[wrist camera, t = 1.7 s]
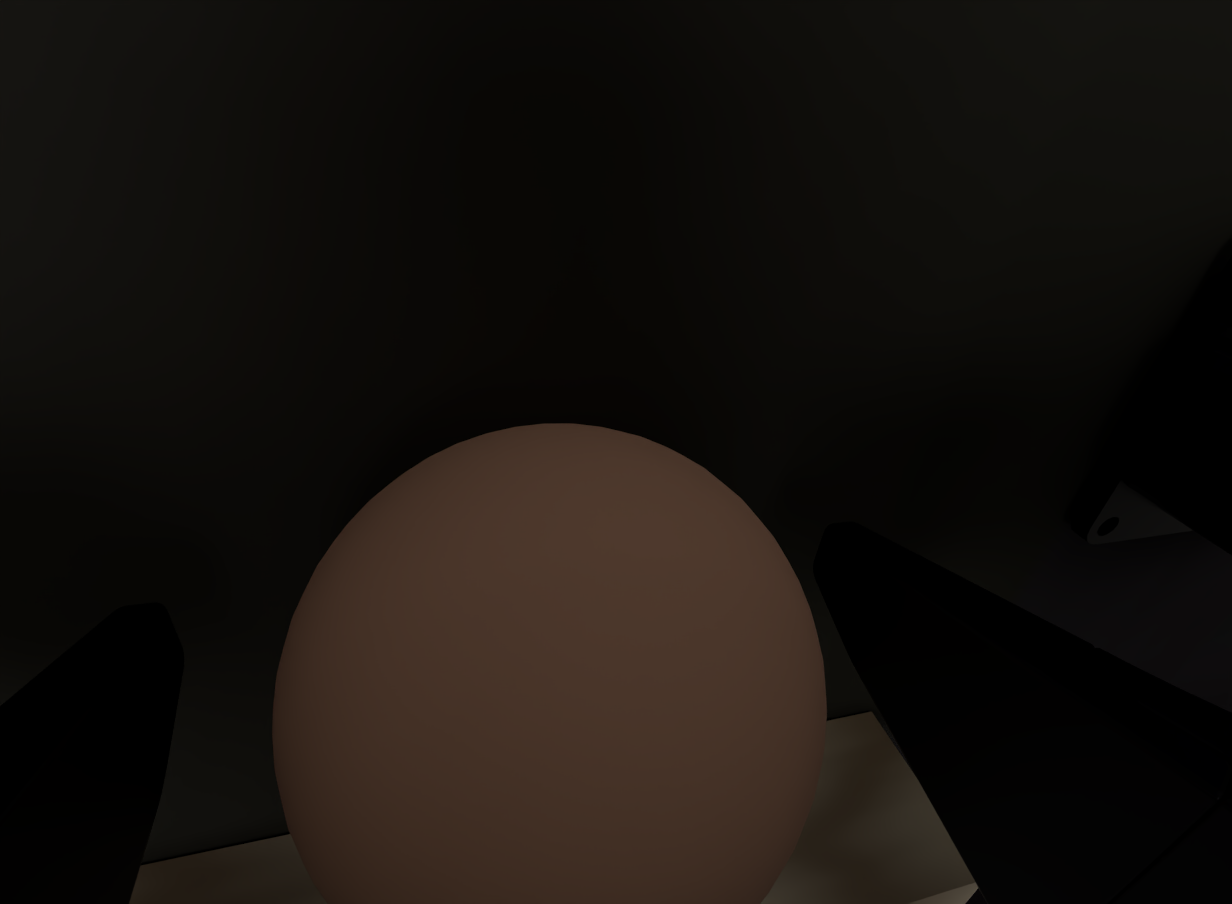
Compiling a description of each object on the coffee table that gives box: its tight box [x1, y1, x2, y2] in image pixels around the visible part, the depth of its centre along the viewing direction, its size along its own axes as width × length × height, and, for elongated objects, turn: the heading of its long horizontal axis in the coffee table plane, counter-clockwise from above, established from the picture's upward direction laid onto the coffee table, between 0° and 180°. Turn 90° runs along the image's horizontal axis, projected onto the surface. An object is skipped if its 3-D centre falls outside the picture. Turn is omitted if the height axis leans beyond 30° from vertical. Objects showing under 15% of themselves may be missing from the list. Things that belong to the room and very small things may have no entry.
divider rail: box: [129, 712, 978, 904], centre depth 13 cm, size 18×1×4 cm, turn 85°
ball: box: [272, 423, 827, 904], centre depth 8 cm, size 6×6×6 cm
